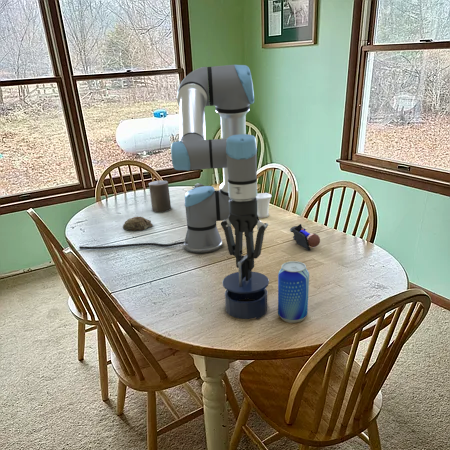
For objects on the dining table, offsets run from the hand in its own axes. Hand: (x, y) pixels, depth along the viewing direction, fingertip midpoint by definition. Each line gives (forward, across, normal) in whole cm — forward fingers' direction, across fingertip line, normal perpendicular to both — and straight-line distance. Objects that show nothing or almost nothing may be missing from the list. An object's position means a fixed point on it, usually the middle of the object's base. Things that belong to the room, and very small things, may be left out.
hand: (245, 278), depth 127 cm
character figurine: (+11, +2, +54) cm, 55 cm away
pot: (+11, 0, 0) cm, 11 cm away
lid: (+1, 0, 0) cm, 1 cm away
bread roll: (+11, -76, +53) cm, 93 cm away
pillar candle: (+10, -80, +79) cm, 113 cm away
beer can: (+11, +14, +1) cm, 18 cm away
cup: (+11, -27, +84) cm, 89 cm away
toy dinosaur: (+10, -66, +96) cm, 117 cm away
